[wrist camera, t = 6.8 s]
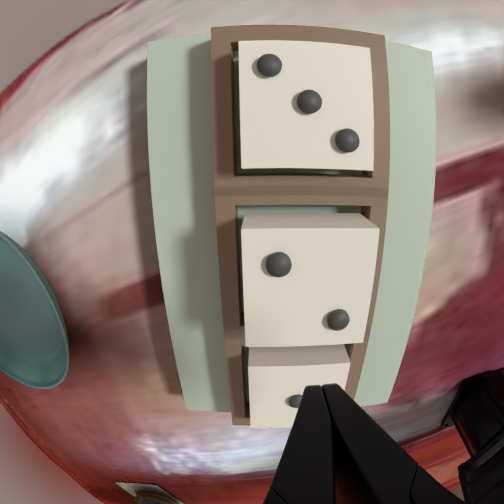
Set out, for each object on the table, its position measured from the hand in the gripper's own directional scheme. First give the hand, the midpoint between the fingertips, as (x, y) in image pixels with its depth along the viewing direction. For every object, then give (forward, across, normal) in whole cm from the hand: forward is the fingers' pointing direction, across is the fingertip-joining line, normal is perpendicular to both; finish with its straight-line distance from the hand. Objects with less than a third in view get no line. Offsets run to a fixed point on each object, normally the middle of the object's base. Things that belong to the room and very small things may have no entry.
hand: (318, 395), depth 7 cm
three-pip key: (+8, -1, -8) cm, 11 cm away
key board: (+10, 0, -1) cm, 10 cm away
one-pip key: (+8, 0, +6) cm, 10 cm away
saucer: (+11, +22, +4) cm, 25 cm away
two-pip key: (+7, 0, -1) cm, 7 cm away
